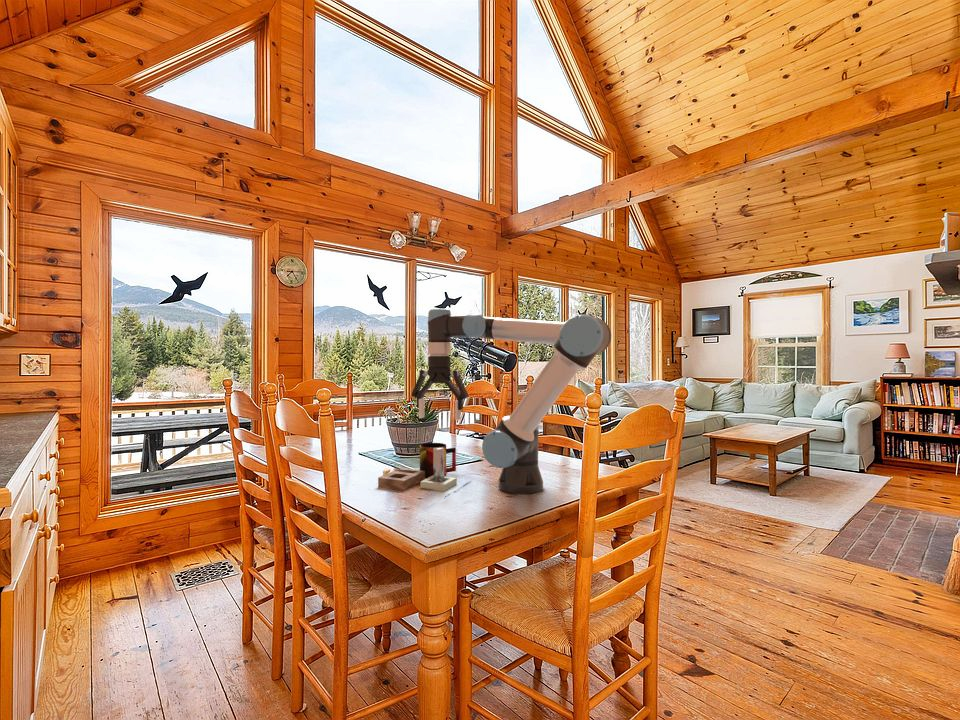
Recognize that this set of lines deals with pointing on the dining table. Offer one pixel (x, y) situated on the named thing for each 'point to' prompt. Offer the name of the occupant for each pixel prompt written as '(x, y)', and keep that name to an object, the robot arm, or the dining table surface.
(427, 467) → the mug
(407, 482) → the socket block
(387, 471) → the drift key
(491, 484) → the dining table surface
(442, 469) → the peg
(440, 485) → the cream square frame
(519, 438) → the robot arm
